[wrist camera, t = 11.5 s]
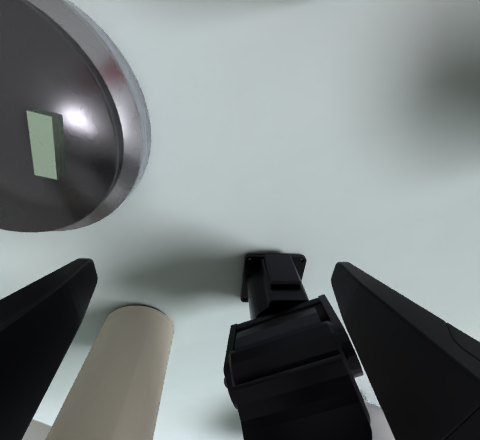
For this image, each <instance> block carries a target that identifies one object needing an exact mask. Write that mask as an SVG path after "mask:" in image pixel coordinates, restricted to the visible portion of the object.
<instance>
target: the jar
mask: <svg viewBox="0 0 480 440" xmlns="http://www.w3.org/2000/svg"><path fill="white" fill-rule="evenodd" d="M364 403H365V405H366V407H367V410H368V412H369V415H370V421H371V424H370V426H371V429H372V440H395V438H394V436H393V434H392V431H391V429H390V427H389V424H388V422H387V420H386V418H385V415H384V413H383V411H382V408H380V407H378V406H376V405H374V404H370V403H367V402H364Z"/></svg>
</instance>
